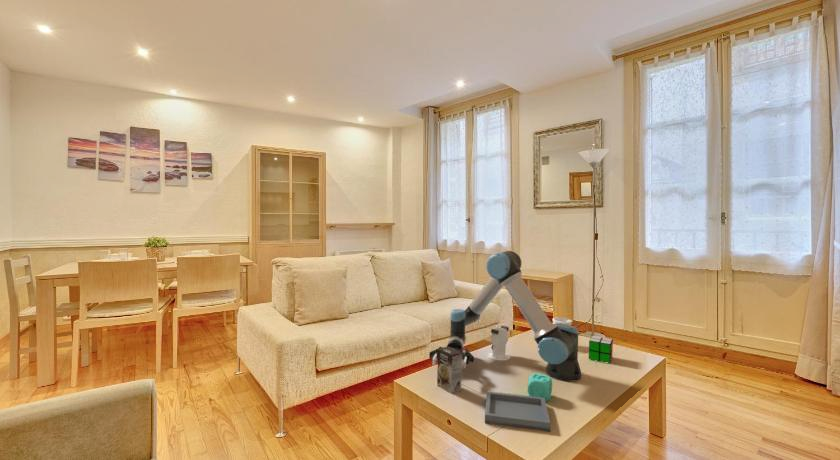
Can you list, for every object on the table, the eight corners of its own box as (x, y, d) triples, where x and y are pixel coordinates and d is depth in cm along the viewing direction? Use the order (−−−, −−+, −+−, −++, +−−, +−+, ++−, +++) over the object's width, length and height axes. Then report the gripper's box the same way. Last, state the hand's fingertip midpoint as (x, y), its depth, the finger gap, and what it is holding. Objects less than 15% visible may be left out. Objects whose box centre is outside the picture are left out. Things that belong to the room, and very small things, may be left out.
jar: (572, 349, 205) (573, 322, 204) (553, 348, 207) (553, 321, 206) (569, 343, 215) (569, 317, 215) (550, 341, 217) (551, 316, 217)
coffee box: (436, 385, 160) (437, 348, 159) (447, 381, 164) (448, 345, 163) (450, 393, 153) (451, 355, 152) (462, 389, 157) (462, 351, 156)
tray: (544, 405, 145) (544, 397, 144) (550, 431, 127) (550, 423, 127) (486, 398, 149) (486, 391, 149) (484, 423, 132) (485, 414, 131)
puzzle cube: (612, 357, 194) (613, 338, 194) (610, 364, 186) (611, 344, 186) (591, 353, 200) (592, 335, 199) (588, 359, 191) (589, 340, 191)
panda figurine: (496, 350, 202) (497, 323, 202) (515, 356, 195) (515, 327, 194) (483, 356, 194) (484, 327, 193) (502, 362, 186) (503, 333, 185)
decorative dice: (532, 390, 157) (532, 371, 157) (551, 395, 153) (552, 376, 153) (527, 398, 150) (527, 378, 150) (547, 403, 146) (548, 383, 146)
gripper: (480, 357, 179) (477, 375, 158) (429, 352, 185) (420, 369, 164) (481, 341, 179) (478, 358, 158) (430, 337, 184) (420, 352, 164)
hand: (448, 363), depth 161 cm, fingers open, 13 cm apart
